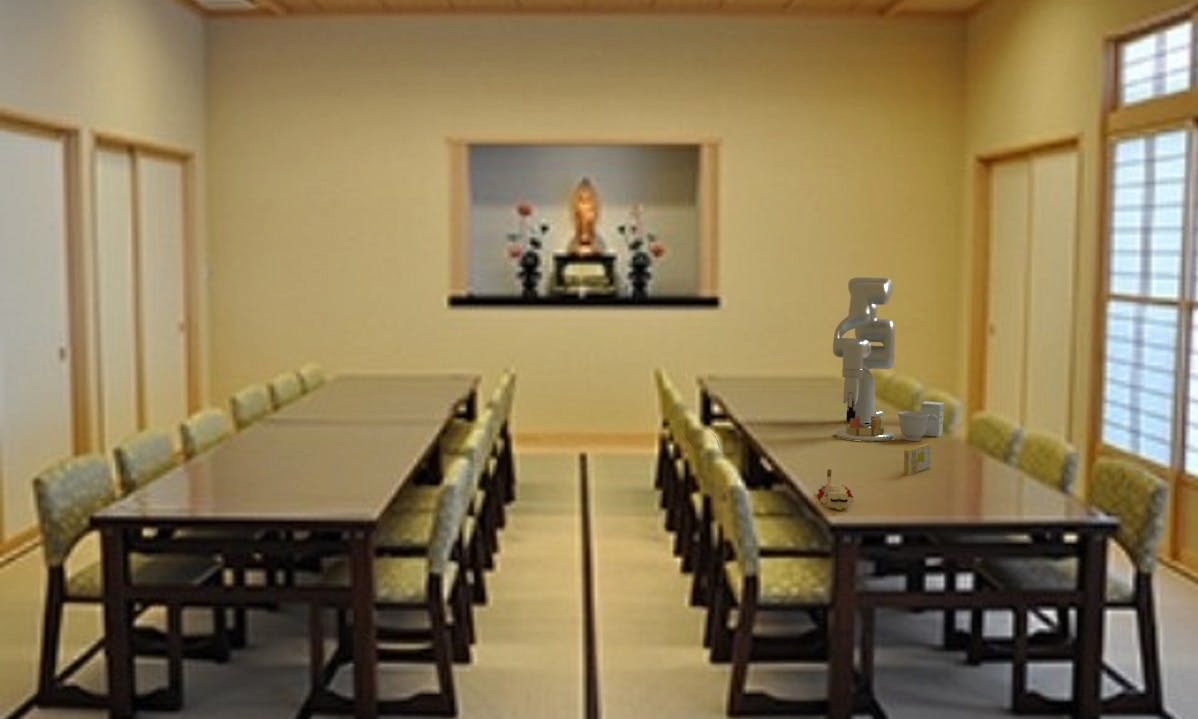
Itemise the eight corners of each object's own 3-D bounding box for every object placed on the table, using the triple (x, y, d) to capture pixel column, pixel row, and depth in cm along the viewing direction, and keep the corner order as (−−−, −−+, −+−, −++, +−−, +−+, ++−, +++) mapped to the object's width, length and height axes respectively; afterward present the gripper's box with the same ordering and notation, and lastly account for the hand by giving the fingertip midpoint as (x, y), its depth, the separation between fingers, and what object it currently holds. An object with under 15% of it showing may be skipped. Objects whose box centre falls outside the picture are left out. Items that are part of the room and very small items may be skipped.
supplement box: (919, 435, 481) (920, 403, 479) (923, 432, 487) (925, 400, 486) (938, 437, 477) (940, 404, 476) (943, 434, 484) (944, 402, 482)
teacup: (938, 443, 462) (939, 416, 461) (896, 441, 465) (897, 415, 464) (936, 438, 474) (937, 412, 473) (895, 436, 477) (896, 410, 476)
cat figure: (811, 497, 370) (821, 509, 345) (811, 468, 370) (822, 477, 345) (844, 498, 369) (857, 510, 344) (845, 469, 369) (858, 478, 344)
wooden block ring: (838, 431, 477) (838, 416, 476) (864, 428, 484) (865, 413, 484) (865, 436, 465) (865, 421, 464) (891, 433, 473) (892, 418, 472)
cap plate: (865, 430, 490) (866, 420, 490) (906, 439, 471) (907, 428, 471) (823, 435, 478) (823, 424, 478) (863, 443, 460) (864, 432, 459)
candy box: (924, 468, 413) (925, 443, 412) (930, 468, 412) (931, 444, 411) (902, 474, 401) (903, 449, 400) (908, 475, 399) (909, 450, 399)
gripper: (844, 370, 481) (842, 417, 483) (840, 375, 467) (839, 423, 469) (863, 371, 479) (862, 418, 481) (861, 376, 465) (859, 424, 467)
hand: (850, 421), depth 475 cm, fingers closed
